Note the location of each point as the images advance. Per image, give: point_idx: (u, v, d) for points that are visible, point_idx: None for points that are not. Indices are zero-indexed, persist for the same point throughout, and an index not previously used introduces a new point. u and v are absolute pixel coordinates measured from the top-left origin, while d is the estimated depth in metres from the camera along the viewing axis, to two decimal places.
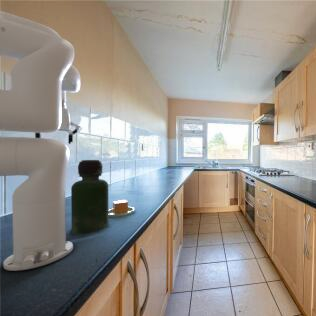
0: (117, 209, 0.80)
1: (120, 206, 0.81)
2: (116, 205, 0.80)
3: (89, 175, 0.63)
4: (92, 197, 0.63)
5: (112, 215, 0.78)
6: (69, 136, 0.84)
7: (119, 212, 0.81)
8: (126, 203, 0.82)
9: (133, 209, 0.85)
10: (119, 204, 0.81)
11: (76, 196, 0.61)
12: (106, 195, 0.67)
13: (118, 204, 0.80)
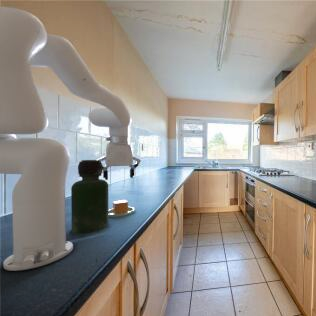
0: (117, 209, 0.80)
1: (120, 206, 0.81)
2: (116, 205, 0.80)
3: (89, 175, 0.63)
4: (92, 197, 0.63)
5: (112, 215, 0.78)
6: (132, 171, 0.85)
7: (119, 212, 0.81)
8: (126, 203, 0.82)
9: (133, 209, 0.85)
10: (119, 204, 0.81)
11: (76, 196, 0.61)
12: (106, 195, 0.67)
13: (118, 204, 0.80)
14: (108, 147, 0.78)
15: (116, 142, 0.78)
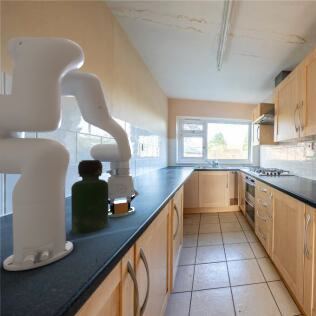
0: (117, 209, 0.80)
1: (120, 206, 0.81)
2: (116, 205, 0.80)
3: (89, 175, 0.63)
4: (92, 197, 0.63)
5: (112, 215, 0.78)
6: (128, 204, 0.84)
7: (119, 212, 0.81)
8: (126, 203, 0.82)
9: (133, 209, 0.85)
10: (119, 204, 0.81)
11: (76, 196, 0.61)
12: (106, 195, 0.67)
13: (118, 204, 0.80)
14: (109, 180, 0.78)
15: (117, 175, 0.79)
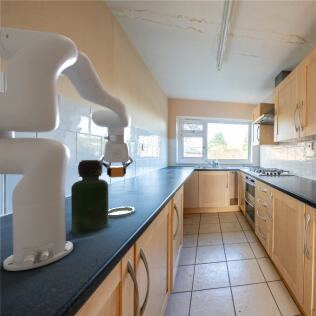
0: (113, 172, 0.88)
1: (116, 170, 0.89)
2: (112, 168, 0.88)
3: (89, 175, 0.63)
4: (92, 197, 0.63)
5: (112, 215, 0.78)
6: (123, 169, 0.91)
7: (115, 175, 0.88)
8: (122, 168, 0.90)
9: (133, 209, 0.85)
10: (115, 168, 0.88)
11: (76, 196, 0.61)
12: (106, 195, 0.67)
13: (114, 168, 0.88)
14: (106, 145, 0.86)
15: (113, 141, 0.87)
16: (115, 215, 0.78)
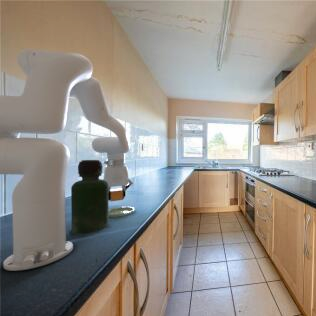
0: (113, 196, 0.89)
1: (116, 193, 0.90)
2: (112, 192, 0.89)
3: (89, 175, 0.63)
4: (92, 197, 0.63)
5: (112, 215, 0.78)
6: (123, 192, 0.93)
7: (115, 199, 0.90)
8: (121, 191, 0.91)
9: (133, 209, 0.85)
10: (115, 192, 0.90)
11: (76, 196, 0.61)
12: (106, 195, 0.67)
13: (114, 192, 0.89)
14: (106, 170, 0.87)
15: (113, 165, 0.88)
16: (115, 215, 0.78)
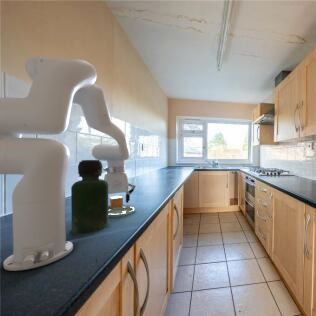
0: (113, 204, 0.89)
1: (116, 201, 0.90)
2: (112, 200, 0.89)
3: (89, 175, 0.63)
4: (92, 197, 0.63)
5: (112, 215, 0.78)
6: (127, 196, 0.94)
7: (115, 206, 0.90)
8: (121, 198, 0.91)
9: (133, 209, 0.85)
10: (115, 199, 0.90)
11: (76, 196, 0.61)
12: (106, 195, 0.67)
13: (114, 199, 0.89)
14: (106, 177, 0.87)
15: (113, 172, 0.88)
16: (115, 215, 0.78)
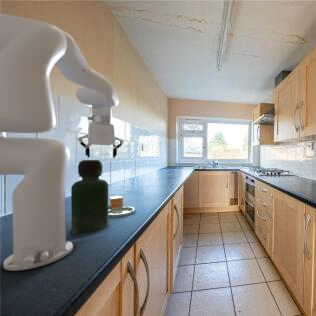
0: (113, 204, 0.89)
1: (116, 201, 0.90)
2: (112, 200, 0.89)
3: (89, 175, 0.63)
4: (92, 197, 0.63)
5: (112, 215, 0.78)
6: (114, 150, 0.88)
7: (115, 206, 0.90)
8: (121, 198, 0.91)
9: (133, 209, 0.85)
10: (115, 199, 0.90)
11: (76, 196, 0.61)
12: (106, 195, 0.67)
13: (114, 199, 0.89)
14: (90, 125, 0.81)
15: (98, 121, 0.82)
16: (115, 215, 0.78)
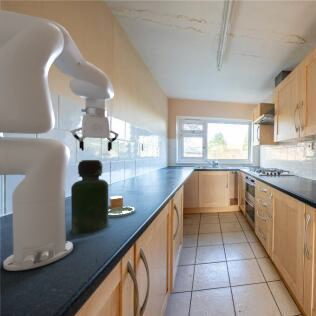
0: (113, 204, 0.89)
1: (116, 201, 0.90)
2: (112, 200, 0.89)
3: (89, 175, 0.63)
4: (92, 197, 0.63)
5: (112, 215, 0.78)
6: (109, 144, 0.86)
7: (115, 206, 0.90)
8: (121, 198, 0.91)
9: (133, 209, 0.85)
10: (115, 199, 0.90)
11: (76, 196, 0.61)
12: (106, 195, 0.67)
13: (114, 199, 0.89)
14: (84, 118, 0.79)
15: (92, 113, 0.80)
16: (115, 215, 0.78)
